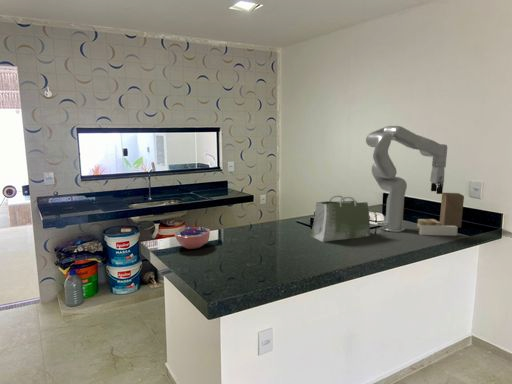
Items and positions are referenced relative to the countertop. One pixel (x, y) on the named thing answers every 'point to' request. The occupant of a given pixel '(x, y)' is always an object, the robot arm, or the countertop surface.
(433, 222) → the oak block
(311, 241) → the countertop surface
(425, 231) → the cream board
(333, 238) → the grocery bag
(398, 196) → the robot arm
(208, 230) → the cell model
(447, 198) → the wooden block
